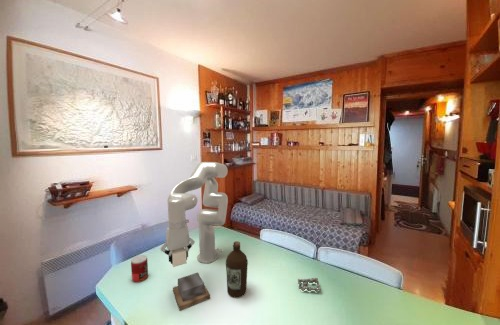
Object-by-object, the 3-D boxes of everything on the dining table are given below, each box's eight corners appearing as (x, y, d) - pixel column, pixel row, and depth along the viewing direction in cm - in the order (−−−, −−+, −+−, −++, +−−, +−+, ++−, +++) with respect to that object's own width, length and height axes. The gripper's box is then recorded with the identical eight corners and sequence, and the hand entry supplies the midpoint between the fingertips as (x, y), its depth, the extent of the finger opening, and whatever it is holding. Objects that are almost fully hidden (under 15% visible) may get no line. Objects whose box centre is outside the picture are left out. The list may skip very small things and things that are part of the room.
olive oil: (231, 282, 111) (230, 236, 109) (250, 286, 108) (250, 239, 106) (222, 296, 101) (221, 246, 99) (243, 301, 98) (243, 249, 96)
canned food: (141, 283, 110) (140, 263, 109) (128, 281, 112) (127, 261, 111) (151, 274, 118) (150, 255, 116) (138, 272, 119) (137, 254, 118)
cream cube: (183, 257, 105) (183, 245, 104) (186, 263, 100) (186, 251, 99) (171, 260, 102) (170, 248, 101) (173, 267, 97) (172, 254, 96)
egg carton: (318, 285, 110) (318, 277, 109) (320, 295, 102) (321, 287, 102) (297, 282, 111) (297, 275, 111) (298, 292, 104) (298, 284, 104)
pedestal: (200, 281, 112) (200, 269, 111) (210, 298, 100) (209, 284, 99) (172, 291, 104) (172, 278, 104) (179, 310, 92) (179, 295, 92)
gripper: (193, 218, 106) (194, 252, 108) (156, 224, 98) (158, 261, 100) (197, 223, 100) (198, 259, 102) (158, 230, 91) (160, 270, 93)
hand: (178, 260), depth 101 cm, fingers closed on cream cube, 6 cm apart
